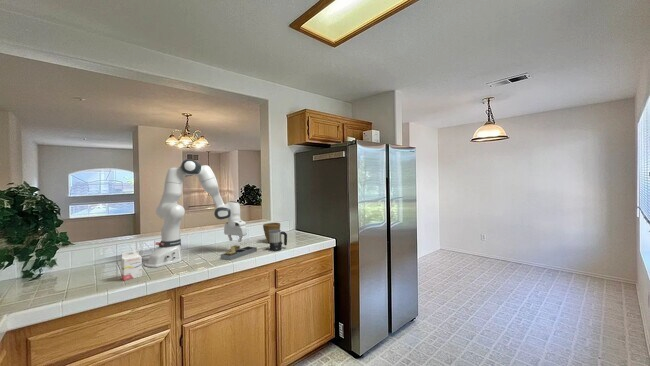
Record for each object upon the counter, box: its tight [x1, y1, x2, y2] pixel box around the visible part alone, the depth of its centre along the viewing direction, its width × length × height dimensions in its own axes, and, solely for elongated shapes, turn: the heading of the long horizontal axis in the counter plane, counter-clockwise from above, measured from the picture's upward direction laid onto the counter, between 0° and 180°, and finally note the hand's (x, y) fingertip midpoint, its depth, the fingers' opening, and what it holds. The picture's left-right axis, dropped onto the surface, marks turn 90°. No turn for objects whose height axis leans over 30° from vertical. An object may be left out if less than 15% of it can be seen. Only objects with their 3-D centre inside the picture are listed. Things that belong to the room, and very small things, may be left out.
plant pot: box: [262, 222, 281, 244], centre depth 228 cm, size 15×15×16 cm
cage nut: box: [230, 244, 241, 250], centre depth 199 cm, size 5×5×5 cm
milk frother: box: [269, 229, 288, 252], centre depth 207 cm, size 14×16×15 cm
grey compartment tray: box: [220, 245, 258, 261], centre depth 189 cm, size 25×9×4 cm, turn 151°
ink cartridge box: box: [120, 249, 143, 281], centre depth 149 cm, size 9×5×15 cm, turn 141°
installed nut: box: [224, 249, 236, 255], centre depth 182 cm, size 5×5×5 cm
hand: (235, 241), depth 199 cm, fingers open, 8 cm apart
